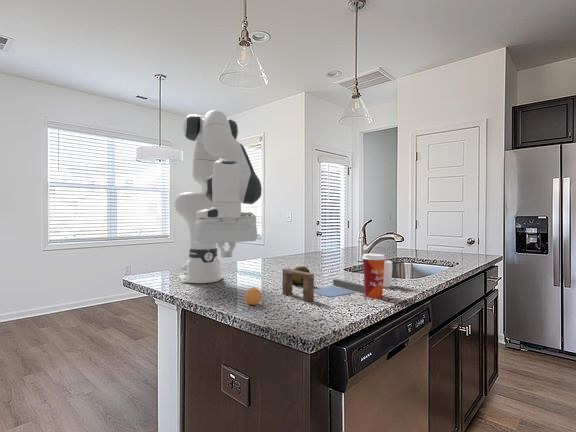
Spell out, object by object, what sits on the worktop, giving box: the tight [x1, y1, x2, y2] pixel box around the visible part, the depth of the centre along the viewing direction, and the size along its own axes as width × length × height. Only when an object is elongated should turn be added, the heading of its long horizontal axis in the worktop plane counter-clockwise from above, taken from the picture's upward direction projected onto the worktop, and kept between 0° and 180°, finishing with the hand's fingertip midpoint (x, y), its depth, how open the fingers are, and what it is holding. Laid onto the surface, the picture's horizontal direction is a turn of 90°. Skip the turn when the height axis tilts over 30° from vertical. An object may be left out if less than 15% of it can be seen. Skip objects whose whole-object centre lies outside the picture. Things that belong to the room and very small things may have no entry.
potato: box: [292, 266, 311, 285], centre depth 144 cm, size 8×13×8 cm, turn 13°
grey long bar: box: [332, 278, 365, 294], centre depth 136 cm, size 18×2×2 cm, turn 35°
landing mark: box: [314, 285, 357, 298], centre depth 131 cm, size 13×13×1 cm
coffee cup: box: [362, 253, 386, 299], centre depth 124 cm, size 8×8×15 cm
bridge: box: [282, 268, 315, 303], centre depth 122 cm, size 3×14×9 cm, turn 35°
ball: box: [244, 287, 263, 306], centre depth 111 cm, size 6×6×6 cm
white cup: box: [383, 260, 394, 288], centre depth 142 cm, size 8×8×10 cm
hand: (226, 257), depth 106 cm, fingers closed
